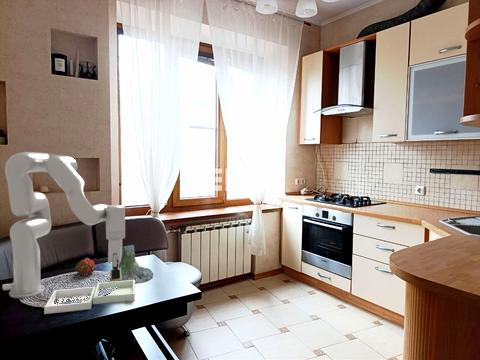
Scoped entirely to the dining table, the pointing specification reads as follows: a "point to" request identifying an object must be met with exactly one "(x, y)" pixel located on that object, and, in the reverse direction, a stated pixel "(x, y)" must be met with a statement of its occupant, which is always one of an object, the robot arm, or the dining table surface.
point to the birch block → (115, 279)
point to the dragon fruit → (85, 266)
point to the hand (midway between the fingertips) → (116, 276)
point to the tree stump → (133, 267)
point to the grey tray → (55, 308)
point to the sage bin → (116, 292)
